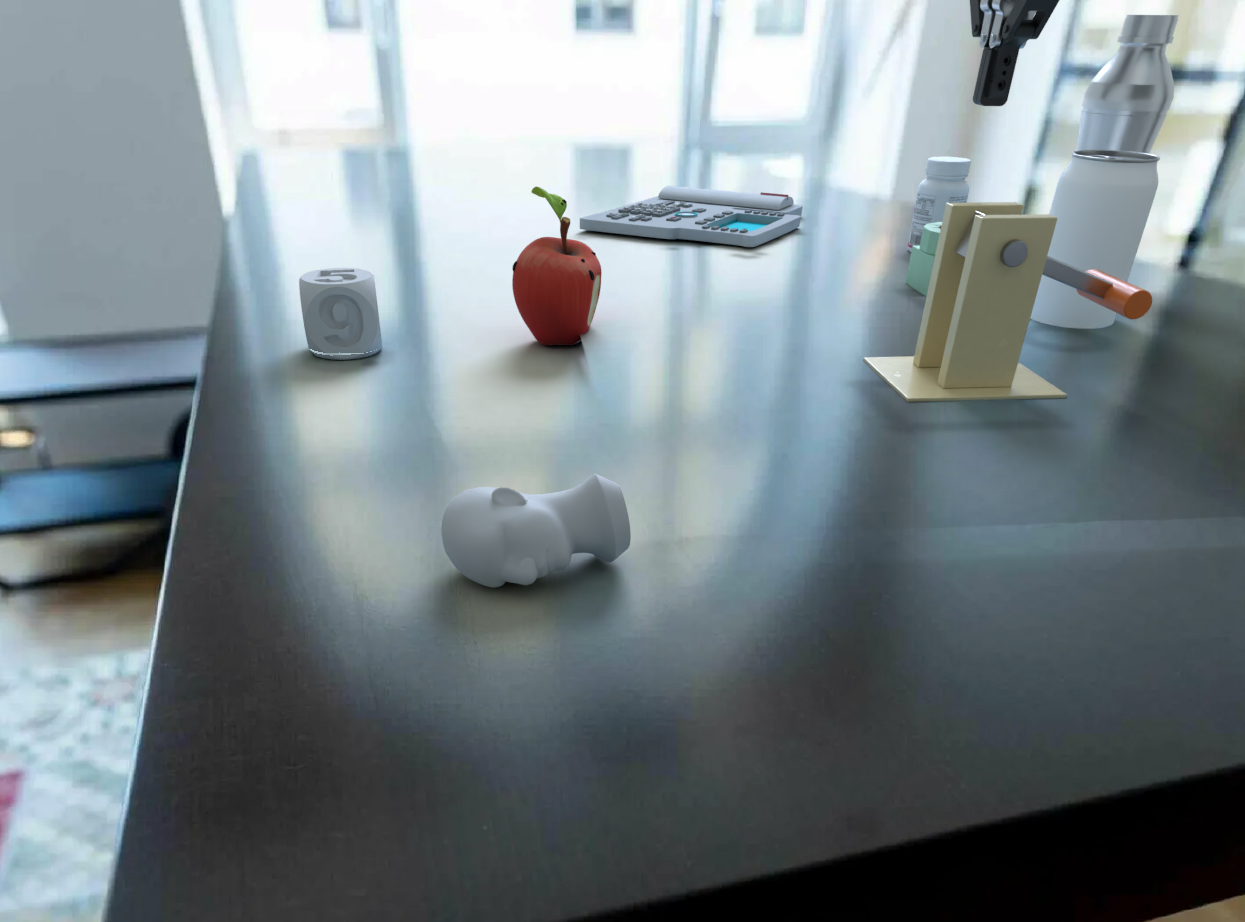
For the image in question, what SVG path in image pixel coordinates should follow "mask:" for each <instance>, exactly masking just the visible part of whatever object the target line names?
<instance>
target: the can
mask: <svg viewBox="0 0 1245 922" xmlns="http://www.w3.org/2000/svg"><path fill="white" fill-rule="evenodd" d="M1071 156H1072V157H1071V159H1070V161H1069V162H1068V164H1067V165H1066V166H1065V168H1064V169H1063V170H1062V172H1061V173H1060V174H1059V177H1058V181H1057V183H1056V187H1055V191H1054V194H1053V197H1052V201H1051V204H1050V207H1049V208H1050V209H1049V211H1048V214H1049V215H1052V216H1055V217H1057V222H1056V226H1055V229H1054V233H1053V237H1052V240H1051V244H1050V248H1049V251H1048V255H1047V256H1049V257H1052V258H1054V259H1057V260H1059V261H1061V262H1064V263H1066V264H1069V265H1071V266H1073V267H1076V268H1078V269H1080V270H1083V271H1085V272H1086V271H1087V270H1090V269H1097V270H1100V271H1102V272H1104V273H1107V274H1109V275H1111V276H1114V277H1116V278H1118V279H1121V280H1123V281H1125V282H1128V280H1129V278H1130V274H1131V271H1132V268H1133V265H1134V263H1135V259H1136V256H1137V253H1138V249H1139V247H1140V244H1141V241H1142V238H1143V236H1144V235H1143V234H1144V231H1145V228H1146V225H1147V222H1148V218H1149V216H1150V213H1151V209H1152V207H1153V203H1154V200H1155V197H1156V194H1157V191H1158V187H1159V174H1158V162H1159V161H1160V160H1161V157H1160V156H1159V155H1156V154H1152V153H1150V154H1147V153H1140V152H1131V151H1118V150H1079V151H1076V150H1074V151H1072V152H1071ZM1117 314H1118V313H1116V312H1114V311H1112V310H1110V309H1108V308H1106V307H1103V306H1101V305H1099V304H1097V303H1095V302H1093V301H1091V300H1089V299H1087V298H1085V297H1083V296H1081V295H1079V294H1078V292H1077V289H1076V288H1073V287H1071V286H1068V285H1066V284H1064V283H1061V282H1059V281H1056V280H1054V279H1051V278H1049V277H1047V276H1044V275H1042V277H1041V281H1040V284H1039V288H1038V292H1037V295H1036V299H1035V303H1034V306H1033V310H1032V314H1031V317H1030V320H1032V321H1034V322H1037V323H1040V324H1045V325H1049V326H1056V327H1060V328H1068V329H1069V328H1070V329H1082V330H1083V329H1084V330H1085V329H1086V330H1088V329H1090V330H1091V329H1093V330H1095V329H1103V328H1107V327H1110V326H1112V325H1113V324H1114V323H1115V319H1116V317H1117Z"/></svg>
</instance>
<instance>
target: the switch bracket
mask: <svg viewBox="0 0 1245 922" xmlns="http://www.w3.org/2000/svg"><path fill="white" fill-rule="evenodd" d="M1023 209H1024V204H1023V203H1020V202H1016V201H988V202H987V201H985V202H984V201H983V202H982V201H980V202H979V201H978V202H977V201H976V202H975V201H973V202H970V201H969V202H967V203H946V206H945V211H944V216H943V221H942V225H941V230H940V235H939V240H938V245H937V249H936V254H935V259H934V264H933V269H932V273H931V278H930V283H929V288H928V293H927V296H925V297H926V298H925V302H924V308H923V313H922V318H921V322H920V326H919V331H918V337H917V340H916V345H915V351H914V354H913V356H912V355H911V356H864V357H863V358H862V361H863V362H864V363H865V364H866V365H867V366H868V367H869V368H871V369H872V370H873V371H874V372H875V373H876V375H878V376H879V377H880V378H881V379H882V380H883V381H885V383H887V384H888V385H889V386H890V387H891V388H892V389H893V390H894V391H895V392H896V393H897V394H898V395H899V396H900V397H902V398H903V399H904V400H905V401H906V402H908V403H909V402H911V403H913V402H915V403H916V402H949V401H985V400H988V401H990V400H991V401H992V400H993V401H994V400H1029V399H1061V398H1062V399H1064V398H1065V399H1067V397H1068V394H1067V393H1066V392H1064V391H1063V390H1061V389H1060V388H1058V387H1057V386H1055V385H1054V384H1052V383H1050V382H1049V381H1047V380H1046V379H1045V378H1043V377H1042V376H1040V375H1039V374H1038V373H1036V372H1035V371H1032V370H1031V369H1029V368H1028V367H1027V366H1025V365H1024V364H1022V363H1021V362H1019V360H1020V357H1021V354H1022V350H1023V348H1024V347H1023V346H1024V343H1025V339H1026V336H1027V332H1028V328H1029V325H1030V321H1031V319H1030V317H1031V314H1032V310H1033V306H1034V303H1035V299H1036V295H1037V292H1038V288H1039V284H1040V281H1041V277H1042V273H1043V270H1044V266H1045V262H1046V259H1047V255H1048V251H1049V248H1050V244H1051V240H1052V237H1053V233H1054V229H1055V226H1056V222H1057V217H1055V216H1052V215H1049V213H1048V214H1047V213H1046V214H1045V213H1041V214H1022V213H1023ZM976 211H978V212H981V213H983V214H986V215H975V218H974V222H973V227H972V231H971V236H970V240H969V245H968V249H967V253H966V258H965V257H963V256H961V255H959V254H957V253H955V249H956V247H957V245H958V244H959V242H960V240H961V238H962V236H963V234H964V232H965V230H966V229H967V227H968V225H969V223H970V221H971V219H972V217H973V215H974V213H975V212H976Z"/></svg>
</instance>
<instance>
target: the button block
mask: <svg viewBox="0 0 1245 922" xmlns="http://www.w3.org/2000/svg"><path fill="white" fill-rule="evenodd" d="M941 225H942V222H935V223H929V224H926V225H925V226H924V228H923V233H922V238H921V243H920V246H912V251H911V252H910V257H909V262H908V267H907V273H906V277H905V278H906V279H905V284H906V285H908V286H909V287H911V288H912V289H913V290H915V291H916V292H918V293H920V294H921V295H923V296H924V297H927V293H928V288H929V283H930V278H931V273H932V269H933V264H934V259H935V254H936V249H937V245H938V240H939V235H940V230H941Z"/></svg>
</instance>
